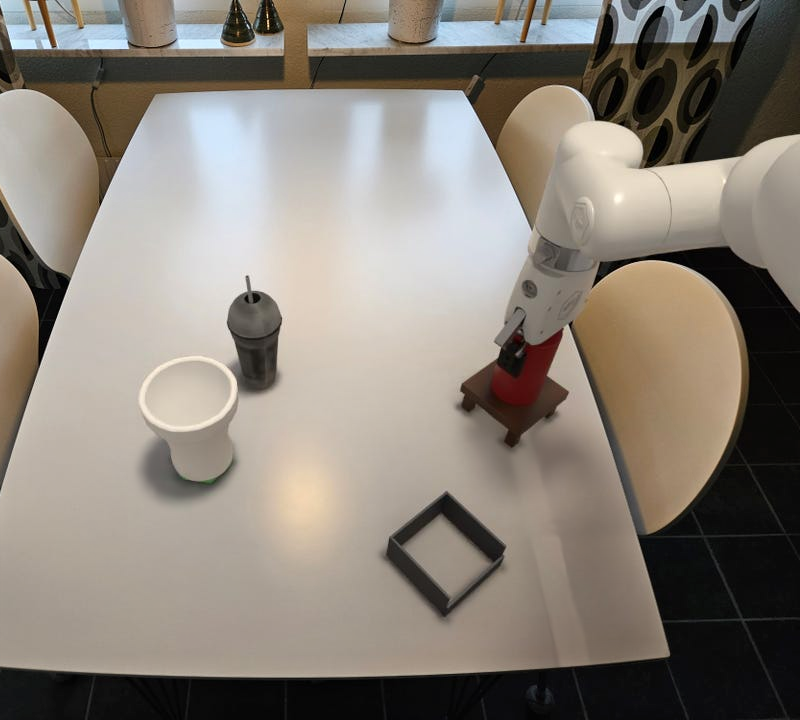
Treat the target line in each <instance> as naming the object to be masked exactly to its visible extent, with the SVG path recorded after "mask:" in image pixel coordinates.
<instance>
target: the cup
mask: <svg viewBox="0 0 800 720" xmlns="http://www.w3.org/2000/svg"><path fill="white" fill-rule="evenodd" d="M237 381H238V380H237V377H236V376H235V375H234V373H233V372H232V371H231V369H230V368H228V367H227V366H226V365H225V364H224V363H222V362H220V361H218V360H216V359H214V358H211V357H208V356H205V355H188V356H183V357H182V356H181V357H177V358H174V359H172V360H169V361H166V362H164V363H163V364H161V365H158V366H157V367H155V368H154V369H153V370H152V371H151V372H150V373H149V374H148V375H147V376H146V378H145V380H144V381H142V382H143V383H142V384H141V386H140V389H139V393H138V408H139V410H140V413H141V416H142V418H143V420H144V422H145V425H146V426H147V427H148V428H149V430H151V431H152V433H153V434H155V435H157V437H160V438H162V440H165V442H167V445H168V447H169V449H170V459H171V462H172V465H173V467H174V469H175V471H176V473H177V474H178V476H179V477H180V478H181V479H182V480H186V481H193V482H199V483H200V482H201V483H206V484H212V483H213V482H215V480H217V478H218V477H220V476H221V475H222V474H223V473H225V472H226V470H227V469H229V468H230V467H231V465H232V464H233V454H234V453H233V444H232V440H231V438H230V437H229V427H230V424H231V422H232V421H233V419H234V417H235V415H236V413H237V411H238V406H239V392H238V391H239V389H238V382H237Z"/></svg>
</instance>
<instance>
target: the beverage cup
mask: <svg viewBox="0 0 800 720" xmlns="http://www.w3.org/2000/svg"><path fill="white" fill-rule="evenodd" d="M244 278H245V283H246V290H247V291H245V292H242V293H240V294H239V295H238V296H236V297H235V298H234V299H233V301H232V303H231V304H230V305H229V308H228V313H227V319H226V325H227V330H229V332H230V335H231V338H232V340H233V342H234V346H235V348H236V349H235V350H236V354H237V358H238V361H239V366H240V369H241V373H242V376H243V379H244V382H245V384H246V385H247V386H248V387H249V388H251V389H254V390H265V389H268V388H270V387H271V386H272V385H274V383H275V381H276V375H277V368H278V350H279V349H278V348H279V335H280V332H281V328H282V327H281V326H282V324H283V317H282V313H281V310H280V308H279V306H278V303H277V302H276V300H275V299H273V298H272V297H271V295H269V294H267V293H266V292H264V291H260V290H252V286H251V285H252V284H251V278H250V275H248V274H246V275H245V276H244Z"/></svg>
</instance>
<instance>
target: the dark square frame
mask: <svg viewBox="0 0 800 720" xmlns="http://www.w3.org/2000/svg"><path fill="white" fill-rule="evenodd" d="M441 514H442V515H443V516H444V517H445V518H446V519H447V520H448V521H449V522H450V523H451V524H453V525H454V526H455V527H456V528H457V530H459V532H460V533H462V534H463V535H464V536H465V537H466V538H467V539H468V540H469V541H470V542H471V543H472V544H473V545H475V546H476V547H477V549H478V550H480V551H481V552H482V554H484V555H485V556H486V557H487V558H488V559H489V560H490V561H491V562H493V563H492V564H490V565H489V567H487V568H486V569H485V570H484V571H482V573H480V575H479V576H478V577H476V578H475V579H474V580H473V581H472V582H471V583H470V584H469V585H468V586H466V587H465V588H464V589H463V590H462V591H461V592H460V593H459V594H458V595H457V596H456V597H455V598H453V600H451V598H452V597H451V595H450V594H449V593H448V592H447V591H446V590H444V588H443V587H442V586H441V585H440V584H439V583H438V582H437V581H436V580H435V579H434V578H433V577H432V576H431V575H430V574H429V573H428V572H427V571H426V570H425V569H424V568H423V567H422V565H420V564H419V563H418V561H416V559H414V557H413V556H412V555H411V554H410V553H409V552H408V551H407V549H405V548H404V547H403V545H404V544H405V543H407V542H409V540H410V539H411V538H412V537H414V536H415V535H417V534H418V533H419V532H420V531H421V530H422V529H423V528H425V527H426V526H428V524H430V523H431V522H432V521H434V519H436V518H437V517H439V515H441ZM507 547H508V545H507V544H505V543H504V542H503V540H501V539H500V538H499V537H498V536H497V535H495V534H494V533H493V532H492V531H491V530H490V529H489V528H488V527H487V526H486V525H484V524H483V523H482V522H481V520H480V519H478V518H477V517H476V516H475V515H474V514H473V513H472V512H471V511H469V510H468V509H467V507H465V506H464V505H463V504H462V503H461V502H460V501H459V500H458V499H456V498H455V497H454V496H453V495H452V494H451V493H450V492H449V491H448V490H446V491H444V492H443V493H442V494H441V495H439V496H438V497H437V498H435V499H434V500H433V501H431V502H430V504H428V505H427V506H426V507H425V508H423V509H422V510H421V511H419V512H418V513H417V514H416V515H414V516H413V517H412V518H411V519H409V520H408V521H407V522H406V523H404V524H403V525H402V526H401V527H399V528H398V529H397V530H396V531H394V532H393V533H392V534H391V535H390V536H389V537H388V540H387V548H386V554H385V556H386V557H387V558H388V559H389V560H390V561H391V562H392V563H393V564H394V565H395V566H396V568H397V569H398V570H399V571H400V572H401V573H402V574H403V575H404V576H405V577H406V578H407V579H408V580H409V582H411V584H413V585H414V587H416V589H417V590H418V591H419V592H420V593H421V594H422V595H423V596H424V597H425V598H426V600H427V601H429V603H430V604H431V605H433V607H434V608H435V609H436V610H437V611H438V612H439V613H440V615H441V616H443V617H444V618H446V617H447V616H448V615H449V614H450V613H451V612H452V611H453V610H454V609H456V608H457V606H459V605H460V604H461V603H462V602H463V601H464V600H465V599H466V598H467V597H469V596H470V594H472V593H473V592H474V591H475V590H476V589H477V588H478V587H480V586H481V584H482V583H483V582H484V581H486V580H487V579H488V578H489V577H490V576H491V575H492V574H494V572H496V570H498V569H499V568H500V567H501V565H502V563H503V561H504V559H505V557H506V555H505V554H504V553H505V551H506V549H507ZM450 600H451V601H450Z"/></svg>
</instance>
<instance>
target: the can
mask: <svg viewBox="0 0 800 720" xmlns="http://www.w3.org/2000/svg"><path fill="white" fill-rule="evenodd" d="M522 327H523V326H522ZM563 336H564V330H562V329H561V330H559V331H558V332H557V333H555V334H554V335H552V336H551V337H550V338H548V339H547V340H545V341H544V342H542V343H540V344H537V345H531V344H529V346H528V348H527V349H526V351H525V354H526V355H527V356H526V359H525V362H524V365H523V367H522V370H521V373H520V375H519V376H518V377H517V378H514V377H512V376H511V375H510V374H508V373H507V372H506V371H504V370H503V369H502V368H500V367H499V366H498V365H497V363H496V366H495V369H494V373H493V376H492V379H491V388H492V391H493V392H494V394H495V395H496V396H497V397H498V398H499V399H500V400H502V401H504V402H506V403H508V404H511V405H516V406H524V405H529V404H531V403H533V402H534V401H536V400H537V398H538V397H539V394H540V392H541V389H542V387H543V384H544V382H545V379H546V377H547V376H548V374H549V371H550V370H551V367H552V364H553V362H554V360H555V356H556V354H557V351H558V349H559V347H560V344H561V342H562V339H563ZM523 339H524V338H523V337H522V336H520V335H519V334H517V333H516V335H515V336H514V337H513V339H512V341H513V342H514V343H516V344H517V345H519V346H520V344H521V342H522V341H523Z"/></svg>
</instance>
